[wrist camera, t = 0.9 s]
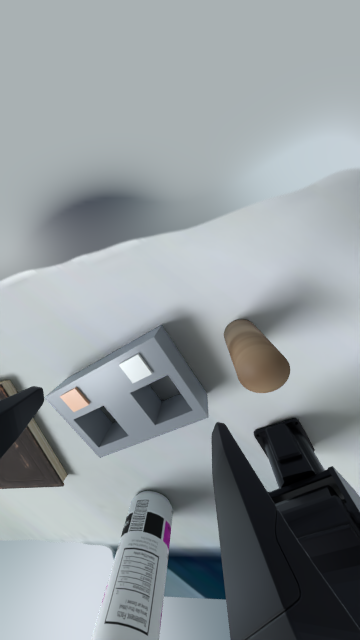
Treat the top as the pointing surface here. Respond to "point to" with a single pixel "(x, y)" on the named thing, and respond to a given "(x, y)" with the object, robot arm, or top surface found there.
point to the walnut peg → (255, 358)
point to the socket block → (130, 395)
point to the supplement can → (138, 573)
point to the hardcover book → (29, 457)
